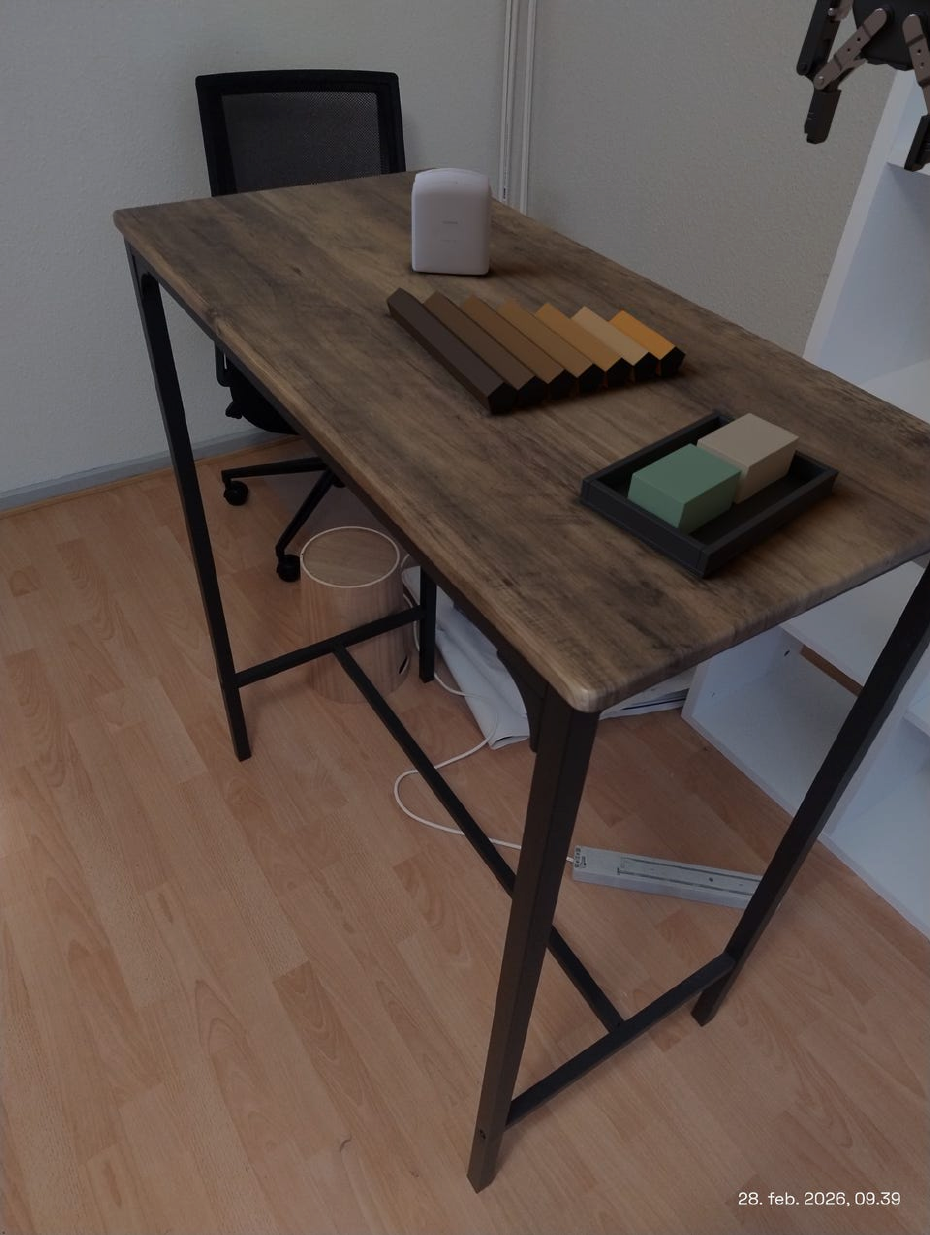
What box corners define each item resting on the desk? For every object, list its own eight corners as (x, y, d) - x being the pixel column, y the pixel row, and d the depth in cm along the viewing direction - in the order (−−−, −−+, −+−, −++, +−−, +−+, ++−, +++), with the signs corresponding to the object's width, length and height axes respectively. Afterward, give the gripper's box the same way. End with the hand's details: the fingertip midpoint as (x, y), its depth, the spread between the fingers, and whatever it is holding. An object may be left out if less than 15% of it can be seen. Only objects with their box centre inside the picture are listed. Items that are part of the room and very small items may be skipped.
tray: (830, 493, 80) (839, 470, 78) (702, 579, 70) (709, 554, 68) (710, 432, 87) (716, 410, 86) (578, 501, 77) (582, 478, 76)
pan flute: (386, 317, 104) (485, 415, 88) (385, 289, 101) (487, 385, 85) (562, 287, 113) (681, 372, 97) (565, 261, 110) (688, 343, 95)
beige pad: (787, 474, 81) (800, 437, 79) (737, 504, 77) (749, 466, 75) (738, 449, 84) (749, 412, 82) (688, 477, 80) (697, 439, 77)
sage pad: (730, 508, 77) (742, 470, 74) (674, 543, 73) (684, 503, 70) (680, 480, 80) (690, 442, 77) (624, 512, 76) (632, 473, 73)
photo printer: (409, 274, 114) (410, 172, 105) (412, 261, 117) (413, 161, 109) (488, 279, 114) (494, 177, 105) (488, 266, 117) (495, 167, 109)
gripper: (825, -120, 60) (760, 141, 71) (1035, -101, 52) (925, 188, 63) (880, -119, 64) (810, 128, 74) (1082, -101, 56) (971, 171, 67)
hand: (863, 155), depth 69 cm, fingers open, 8 cm apart
